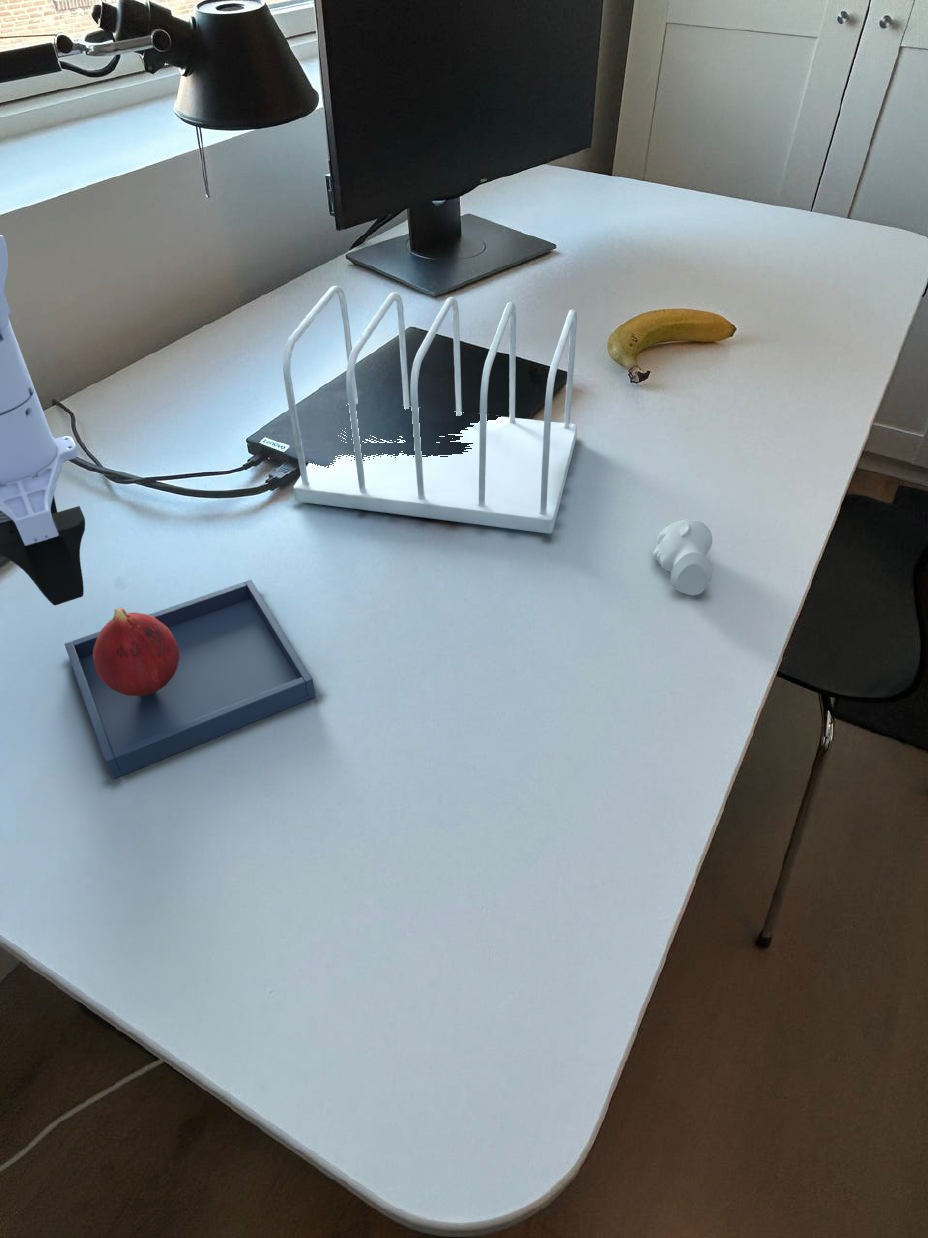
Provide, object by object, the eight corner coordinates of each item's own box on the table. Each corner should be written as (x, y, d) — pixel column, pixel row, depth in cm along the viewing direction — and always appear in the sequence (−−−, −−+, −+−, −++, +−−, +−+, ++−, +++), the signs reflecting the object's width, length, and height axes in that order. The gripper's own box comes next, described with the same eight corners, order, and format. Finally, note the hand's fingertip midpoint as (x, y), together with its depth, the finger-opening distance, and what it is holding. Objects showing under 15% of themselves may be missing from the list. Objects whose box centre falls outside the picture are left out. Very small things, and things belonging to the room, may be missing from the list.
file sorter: (576, 439, 93) (590, 295, 82) (551, 539, 81) (564, 383, 70) (350, 413, 97) (336, 272, 86) (294, 504, 85) (268, 352, 74)
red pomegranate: (203, 672, 68) (179, 594, 62) (160, 726, 64) (132, 649, 58) (138, 654, 69) (110, 577, 64) (93, 707, 65) (59, 629, 60)
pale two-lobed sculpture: (658, 551, 81) (715, 543, 79) (654, 607, 75) (716, 600, 73) (650, 512, 78) (708, 504, 77) (645, 567, 73) (709, 559, 71)
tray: (113, 779, 61) (105, 761, 60) (72, 661, 69) (64, 643, 68) (316, 696, 67) (312, 678, 65) (255, 596, 75) (251, 578, 74)
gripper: (78, 433, 51) (138, 607, 60) (30, 336, 60) (89, 500, 69) (-54, 467, 48) (30, 643, 57) (-82, 360, 57) (-6, 527, 67)
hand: (56, 567), depth 63 cm, fingers open, 7 cm apart
